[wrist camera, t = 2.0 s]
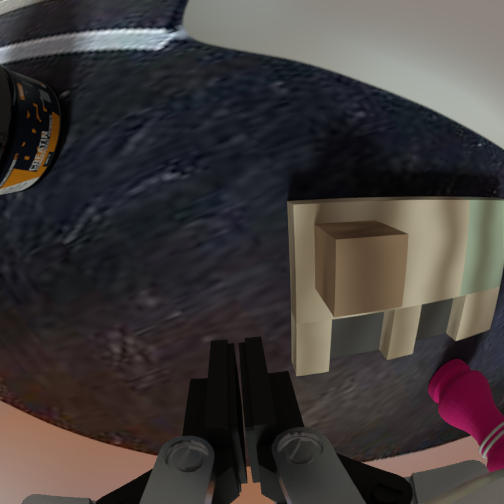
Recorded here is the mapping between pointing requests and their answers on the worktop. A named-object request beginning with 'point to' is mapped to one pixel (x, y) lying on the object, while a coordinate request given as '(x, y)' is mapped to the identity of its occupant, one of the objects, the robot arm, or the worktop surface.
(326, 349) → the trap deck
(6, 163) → the supplement container
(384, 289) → the walnut block
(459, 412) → the pepper mill
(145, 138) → the worktop surface
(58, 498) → the robot arm
